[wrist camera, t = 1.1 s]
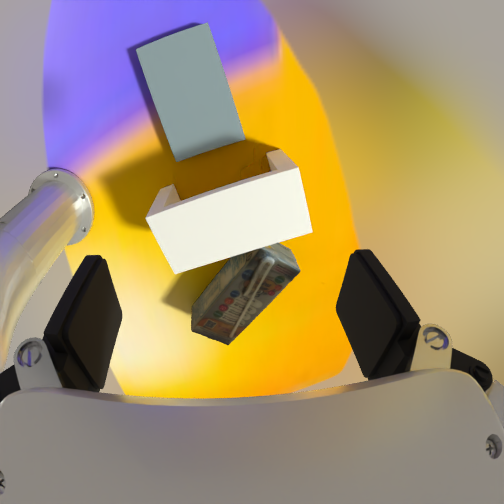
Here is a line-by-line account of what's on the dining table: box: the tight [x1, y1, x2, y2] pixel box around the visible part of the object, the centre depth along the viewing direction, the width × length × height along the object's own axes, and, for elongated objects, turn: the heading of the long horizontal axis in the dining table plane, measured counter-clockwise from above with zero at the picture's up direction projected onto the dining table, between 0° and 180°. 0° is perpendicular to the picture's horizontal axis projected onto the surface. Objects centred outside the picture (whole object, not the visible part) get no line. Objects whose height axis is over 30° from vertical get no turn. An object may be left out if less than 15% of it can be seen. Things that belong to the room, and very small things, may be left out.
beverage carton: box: [191, 243, 300, 345], centre depth 44 cm, size 8×19×7 cm, turn 143°
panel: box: [136, 23, 245, 162], centre depth 29 cm, size 9×16×2 cm, turn 16°
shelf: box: [146, 149, 312, 274], centre depth 34 cm, size 17×8×9 cm, turn 106°
